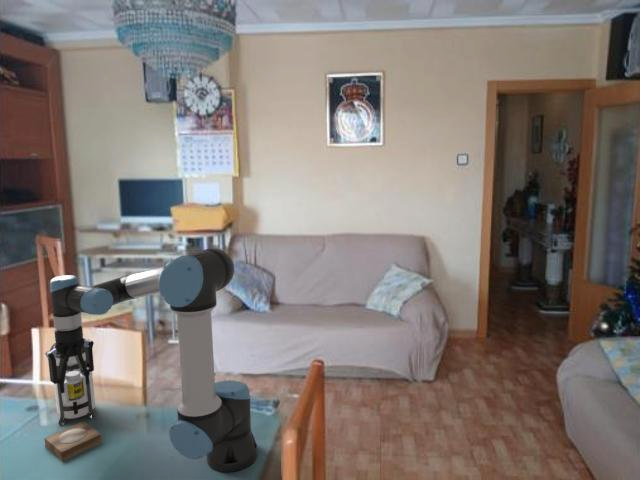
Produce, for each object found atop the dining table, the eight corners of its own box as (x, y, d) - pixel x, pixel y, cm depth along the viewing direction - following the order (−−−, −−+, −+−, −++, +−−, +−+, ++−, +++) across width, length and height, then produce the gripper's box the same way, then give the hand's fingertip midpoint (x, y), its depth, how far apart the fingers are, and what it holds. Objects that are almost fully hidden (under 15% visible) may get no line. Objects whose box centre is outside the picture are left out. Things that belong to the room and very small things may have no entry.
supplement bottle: (76, 403, 149) (73, 377, 148) (62, 401, 150) (60, 376, 149) (86, 395, 154) (84, 370, 152) (73, 394, 155) (71, 369, 153)
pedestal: (101, 442, 155) (100, 433, 154) (62, 461, 146) (61, 451, 145) (83, 429, 162) (82, 421, 162) (45, 446, 153) (44, 437, 153)
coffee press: (40, 422, 167) (30, 339, 162) (79, 401, 182) (71, 323, 176) (77, 433, 160) (68, 346, 155) (115, 409, 175) (107, 330, 170)
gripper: (91, 316, 157) (97, 384, 161) (31, 331, 143) (39, 405, 148) (103, 321, 152) (108, 391, 156) (41, 338, 139) (49, 413, 143)
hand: (74, 397), depth 152 cm, fingers closed on supplement bottle, 5 cm apart
